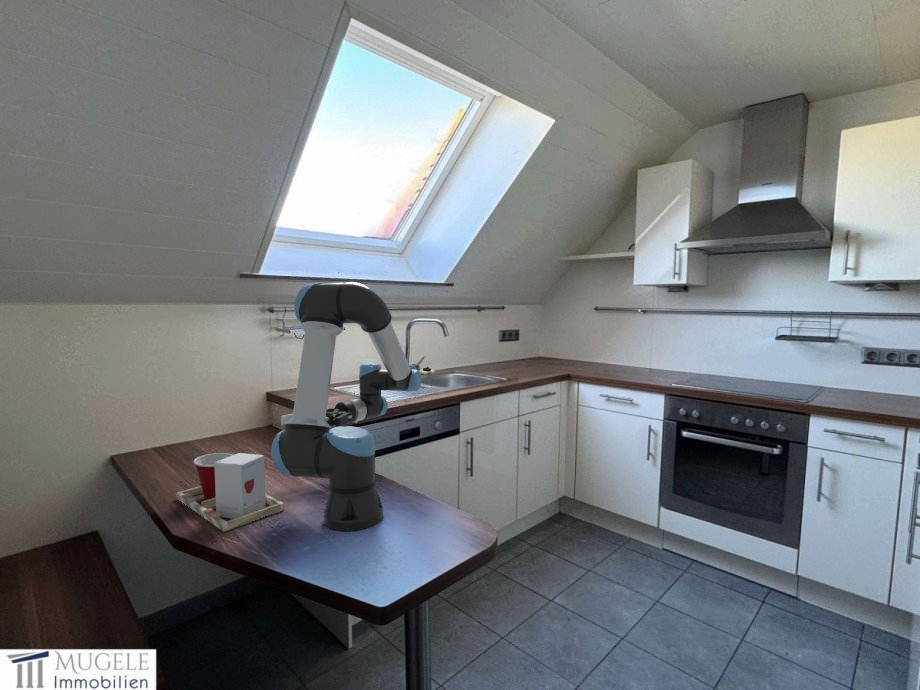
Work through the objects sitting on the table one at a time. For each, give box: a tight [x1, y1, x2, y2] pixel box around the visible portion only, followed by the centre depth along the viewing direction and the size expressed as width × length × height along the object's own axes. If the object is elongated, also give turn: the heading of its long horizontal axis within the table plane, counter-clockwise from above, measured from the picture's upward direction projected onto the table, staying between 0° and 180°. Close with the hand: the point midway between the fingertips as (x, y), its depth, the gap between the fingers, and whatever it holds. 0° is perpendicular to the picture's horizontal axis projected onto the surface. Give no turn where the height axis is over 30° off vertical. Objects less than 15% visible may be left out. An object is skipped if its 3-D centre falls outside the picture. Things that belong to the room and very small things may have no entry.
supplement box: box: [214, 452, 267, 520], centre depth 125 cm, size 9×9×15 cm
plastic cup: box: [193, 452, 234, 501], centre depth 135 cm, size 11×11×12 cm
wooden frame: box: [176, 485, 285, 532], centre depth 130 cm, size 32×16×3 cm, turn 50°
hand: (295, 422), depth 138 cm, fingers open, 13 cm apart
